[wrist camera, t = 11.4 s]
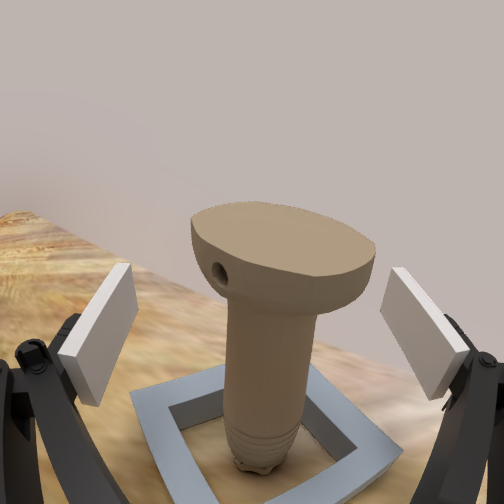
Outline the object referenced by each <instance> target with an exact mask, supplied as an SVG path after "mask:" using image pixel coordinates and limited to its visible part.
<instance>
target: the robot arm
mask: <svg viewBox="0 0 504 504" xmlns="http://www.w3.org/2000/svg"><path fill="white" fill-rule="evenodd" d="M138 310H139V309H138V303H137V298H136V292H135V287H134V281H133V274H132V268H131V263H116V265H115V266H114V268H113V269H112V270H111V272H110V273H109V275H108V276H107V277H106V279H105V280H104V282H103V283H102V285H101V286H100V288H99V289H98V291H97V292H96V293H95V295H94V296H93V298H92V299H91V301H90V302H89V304H88V305H87V307H86V309H85V310H84V312H83V313H82V314H77V313H74V314H73V315H72V316H70V317H69V318H68V319H67V320H66V321H65V322H64V324H63V325H62V327H61V329H60V330H59V331H58V333H57V335H56V336H55V337H54V339H53V341H52V342H51V344H50V345H49V347H48V348H47V347H46V345H45V343H44V342H43V341H42V340H40V339H30V340H27V341H25V342H23V343H21V344H20V345H19V346H18V347H17V349H16V351H15V357H16V359H17V361H18V363H19V365H20V367H21V368H15V369H10V368H9V366H8V364H7V363H6V361H4V360H2V359H0V504H44V501H43V495H42V489H41V483H40V475H39V467H38V458H37V446H36V430H35V418H36V421H37V425H38V428H39V431H40V434H41V437H42V440H43V442H44V445H45V448H46V451H47V453H48V456H49V459H50V461H51V464H52V466H53V469H54V471H55V473H56V476H57V478H58V480H59V483H60V485H61V487H62V489H63V491H64V493H65V496H66V498H67V500H68V502H69V504H130V503H129V501H128V500H127V498H126V497H125V495H124V494H123V492H122V491H121V489H120V488H119V486H118V484H117V483H116V481H115V480H114V478H113V476H112V475H111V473H110V471H109V470H108V468H107V466H106V464H105V463H104V461H103V459H102V457H101V456H100V454H99V452H98V450H97V448H96V446H95V444H94V442H93V441H92V439H91V437H90V435H89V433H88V431H87V429H86V427H85V424H84V422H83V420H82V418H81V416H80V414H79V412H78V409H77V407H76V405H75V403H74V401H75V398H76V396H77V395H78V397H79V399H80V401H81V403H82V404H85V405H90V406H95V407H99V405H100V402H101V400H102V397H103V394H104V392H105V389H106V387H107V384H108V381H109V379H110V376H111V374H112V371H113V369H114V366H115V364H116V361H117V359H118V356H119V354H120V352H121V349H122V347H123V344H124V342H125V340H126V337H127V335H128V333H129V330H130V328H131V326H132V323H133V321H134V319H135V317H136V314H137V312H138ZM380 312H381V314H382V316H383V317H384V319H385V321H386V323H387V324H388V326H389V328H390V329H391V331H392V333H393V335H394V336H395V338H396V340H397V342H398V344H399V345H400V347H401V349H402V351H403V352H404V354H405V356H406V358H407V360H408V361H409V363H410V365H411V367H412V369H413V371H414V373H415V375H416V377H417V378H418V380H419V382H420V384H421V386H422V388H423V390H424V392H425V394H426V396H427V398H428V400H429V401H430V400H434V399H438V398H442V397H443V396H444V394H445V393H446V391H447V390H448V388H449V389H450V391H451V392H452V394H451V396H450V397H449V399H448V400H447V402H446V404H445V405H444V406H443V408H442V411H444V409H445V408H446V410H445V414H444V417H443V420H442V423H441V427H440V430H439V433H438V436H437V439H436V442H435V444H434V447H433V450H432V453H431V455H430V458H429V461H428V463H427V466H426V468H425V471H424V473H423V475H422V478H421V480H420V482H419V485H418V487H417V489H416V491H415V493H414V496H413V498H412V500H411V502H410V504H476V501H477V497H478V494H479V490H480V487H481V483H482V479H483V475H484V471H485V467H486V462H487V458H488V480H487V503H486V504H504V363H498V362H497V360H496V358H494V357H493V356H492V355H491V354H489V353H487V352H478V350H477V349H476V348H475V347H474V345H473V344H472V342H471V341H470V340H469V338H468V337H467V336H466V335H465V334H464V332H463V331H462V329H460V327H459V326H458V324H457V323H456V322H455V321H454V320H453V319H452V318H451V317H449V316H448V315H447V314H442V312H441V311H440V310H439V309H438V308H437V306H436V305H435V304H434V303H433V301H432V300H431V299H430V298H429V297H428V295H427V294H426V293H425V292H424V290H423V289H422V288H421V287H420V286H419V285H418V283H417V282H416V281H415V280H414V279H413V278H412V276H411V275H410V274H409V273H408V272H407V271H406V269H405V268H403V267H402V268H401V267H398V268H397V267H392V268H391V272H390V276H389V280H388V283H387V287H386V291H385V295H384V298H383V302H382V306H381V309H380Z"/></svg>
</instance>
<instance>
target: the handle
mask: <svg viewBox="0 0 504 504" xmlns="http://www.w3.org/2000/svg"><path fill="white" fill-rule="evenodd" d="M191 235H192V245H193V250H194V253H195V257H196V260H197V262H198V265H199V267H200V269H201V271H202V273H203V274H204V276H205V278H206V279H207V281H208V282H209V284H210V285H211V286H212V288H214V290H216V292H217V293H219V294H220V295H221V296H222V297H225V298H227V300H228V322H227V343H226V363H225V379H224V396H223V412H224V424H225V430H226V435H227V439H228V443H229V446H230V448H231V451H232V453H233V454H234V456H235V458H234V461H235V464H236V466H237V467H238V468H239V469H240V470H242V471H246V470H247V471H254V472H257V473H259V474H261V475H267V474H269V473H270V471H271V469H272V468H273V467H275V466H276V465H280V464H281V463H282V462H283V461H284V459H285V457H286V455H287V452H288V450H289V449H290V447H291V445H292V443H293V441H294V439H295V436H296V434H297V432H298V429H299V425H300V422H301V418H302V414H303V409H304V402H305V395H306V388H307V381H308V373H309V366H310V359H311V352H312V345H313V338H314V330H315V322H316V318H317V315H318V314H323V313H329V312H332V311H334V310H337V309H339V308H342V307H344V306H346V305H348V304H350V303H351V302H352V301H354V300H356V299H357V298H358V297H359V296H360V295H361V294H362V293H363V291H364V290H365V288H366V286H367V284H368V282H369V279H370V276H371V271H372V267H373V263H374V258H375V254H376V247H375V244H374V242H372V241H371V240H369V239H368V238H367V237H365V236H364V235H362V234H361V233H359V232H358V231H356V230H355V229H353V228H351V227H350V226H348V225H346V224H344V223H342V222H339V221H337V220H334V219H332V218H329V217H326V216H323V215H320V214H317V213H314V212H311V211H307V210H304V209H300V208H295V207H290V206H284V205H278V204H271V203H264V202H237V203H229V204H224V205H220V206H215V207H211V208H208V209H205V210H202V211H200V212H198V213H197V214H195V215H193V216H192V217H191Z"/></svg>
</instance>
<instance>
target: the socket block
mask: <svg viewBox="0 0 504 504" xmlns="http://www.w3.org/2000/svg"><path fill="white" fill-rule="evenodd" d="M224 379H225V364H222V365H219V366H216V367H213V368H210V369H207V370H204V371H201V372H198V373H195V374H191V375H188V376H185V377H182V378H178V379H175V380H171V381H168V382H165V383H161V384H158V385H154V386H150V387H147V388H143V389H139V390H135V391H131V392H129V393H130V396H131V399H132V402H133V405H134V408H135V411H136V414H137V416H138V419H139V422H140V425H141V427H142V430H143V433H144V435H145V438H146V440H147V443H148V445H149V448H150V450H151V453H152V455H153V457H154V460H155V462H156V464H157V467H158V469H159V471H160V474H161V476H162V478H163V480H164V482H165V484H166V487H167V489H168V491H169V493H170V495H171V497H172V499H173V501H174V503H175V504H220V503H219V502H218V500H217V498H216V497H215V495H214V494H213V492H212V490H211V488H210V487H209V485H208V483H207V482H206V480H205V478H204V476H203V475H202V473H201V471H200V469H199V467H198V466H197V464H196V462H195V460H194V458H193V456H192V455H191V453H190V451H189V449H188V447H187V445H186V443H185V441H184V439H183V437H182V435H181V433H180V431H179V430H182V429H185V428H188V427H191V426H194V425H197V424H200V423H203V422H206V421H209V420H211V419H214V418H217V417H220V416H222V415H224V412H223V396H224ZM301 422H302V423H303V425H304V426H305V427H306V428H307V429H308V430H309V431H310V432H311V434H312V435H313V436H314V437H315V438H316V439H317V440H318V441H319V442H320V444H321V445H322V446H323V447H324V448H325V449H326V450H327V451H328V452H329V453H330V454H331V455H332V457H333V458H334V459H335V460H336V461H337V463H335V464H333V465H332V466H330V467H329V468H327V469H326V470H324V471H322V472H321V473H319V474H317V475H316V476H314V477H312V478H310V479H309V480H307V481H305V482H303V483H302V484H300V485H298V486H296V487H294V488H293V489H291V490H289V491H287V492H285V493H283V494H281V495H279V496H277V497H275V498H273V499H271V500H269V501H267V502H265V503H263V504H344V503H345V502H347V501H348V500H350V499H351V498H353V497H354V496H355V495H357V494H358V493H359V492H361V491H362V490H364V489H365V488H366V487H368V486H369V485H370V484H371V483H373V482H374V481H375V480H377V479H378V478H379V477H380V476H382V475H383V474H384V473H385V472H386V471H387V470H388V469H389V468H390V467H391V465H392V464H393V463H394V462H395V461H396V459H397V458H398V457H399V456H400V455H401V453H402V452H403V451H404V450H403V449H401V448H400V447H399V446H398V445H397V444H396V443H395V442H394V441H393V440H391V439H390V438H389V437H388V436H387V435H386V434H385V433H384V432H383V431H382V430H381V429H379V428H378V427H377V426H376V425H375V424H374V423H373V422H372V421H371V420H370V419H369V418H368V417H366V416H365V415H364V414H363V413H362V412H361V411H360V410H359V409H358V408H357V407H356V406H355V405H354V404H353V403H352V402H350V401H349V400H348V399H347V398H346V397H345V396H344V395H343V394H342V393H341V392H340V391H339V390H338V389H337V388H336V387H335V386H334V385H333V384H332V383H331V382H329V381H328V380H327V379H326V378H325V377H324V376H323V375H322V374H321V373H320V372H319V371H318V370H317V369H316V368H315V367H314V366H313V365H312V364H311V363H310V366H309V373H308V381H307V388H306V395H305V402H304V409H303V414H302V418H301Z"/></svg>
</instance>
